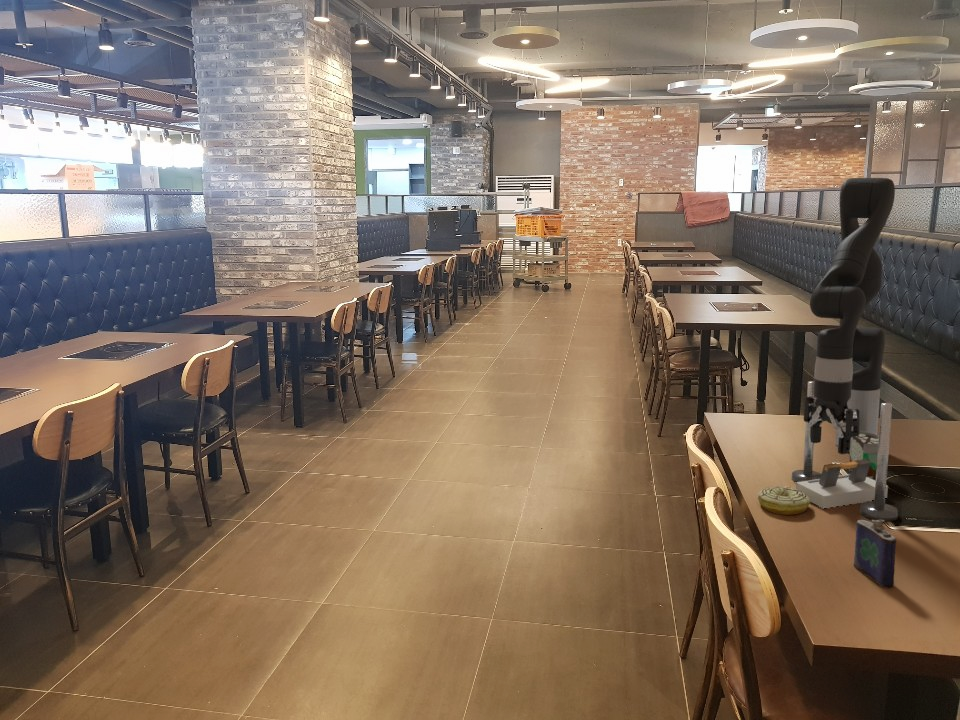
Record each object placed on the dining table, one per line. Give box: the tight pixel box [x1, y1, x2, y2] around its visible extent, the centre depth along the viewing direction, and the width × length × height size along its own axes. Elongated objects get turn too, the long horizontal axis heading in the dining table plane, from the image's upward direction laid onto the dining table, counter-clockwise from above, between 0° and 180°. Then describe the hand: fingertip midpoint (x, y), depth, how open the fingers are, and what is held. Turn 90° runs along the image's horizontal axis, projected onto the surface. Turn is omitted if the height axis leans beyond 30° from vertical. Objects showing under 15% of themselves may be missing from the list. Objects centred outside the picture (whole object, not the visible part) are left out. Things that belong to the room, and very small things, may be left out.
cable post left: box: [791, 380, 822, 483], centre depth 175 cm, size 7×7×24 cm
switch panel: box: [795, 473, 889, 510], centre depth 167 cm, size 9×17×3 cm, turn 106°
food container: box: [848, 430, 879, 481], centre depth 178 cm, size 12×6×10 cm, turn 168°
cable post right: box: [859, 402, 899, 523], centre depth 155 cm, size 7×7×24 cm
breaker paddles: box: [819, 459, 871, 488], centre depth 165 cm, size 2×11×5 cm, turn 106°
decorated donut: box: [757, 485, 811, 516], centre depth 163 cm, size 10×11×4 cm
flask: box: [853, 519, 897, 589], centre depth 131 cm, size 9×3×11 cm, turn 8°
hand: (829, 447), depth 164 cm, fingers open, 8 cm apart
